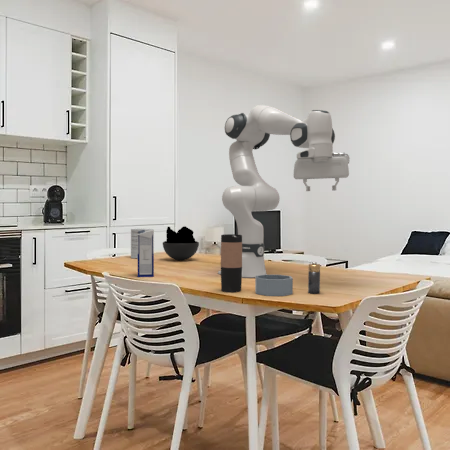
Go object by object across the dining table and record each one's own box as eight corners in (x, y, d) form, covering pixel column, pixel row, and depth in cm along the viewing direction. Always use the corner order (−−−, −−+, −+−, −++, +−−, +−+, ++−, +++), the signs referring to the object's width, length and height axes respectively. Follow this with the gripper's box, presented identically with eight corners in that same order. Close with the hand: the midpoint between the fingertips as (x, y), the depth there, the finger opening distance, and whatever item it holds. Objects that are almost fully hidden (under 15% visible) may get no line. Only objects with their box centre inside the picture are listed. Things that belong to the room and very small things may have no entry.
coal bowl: (203, 259, 280) (203, 225, 279) (192, 263, 260) (193, 227, 260) (169, 258, 284) (169, 225, 284) (157, 261, 265) (157, 226, 264)
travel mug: (224, 288, 182) (224, 234, 181) (244, 289, 179) (244, 234, 179) (217, 291, 174) (218, 235, 173) (238, 293, 172) (239, 235, 171)
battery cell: (305, 292, 173) (306, 262, 173) (312, 291, 176) (313, 261, 175) (315, 294, 170) (315, 263, 170) (322, 293, 173) (322, 262, 173)
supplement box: (142, 259, 277) (142, 229, 276) (130, 258, 282) (130, 228, 281) (153, 257, 285) (153, 228, 284) (141, 256, 290) (141, 228, 289)
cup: (248, 292, 173) (248, 276, 173) (271, 288, 182) (271, 273, 182) (276, 297, 164) (276, 280, 164) (299, 292, 173) (299, 277, 173)
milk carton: (153, 276, 210) (153, 229, 209) (137, 277, 208) (137, 229, 208) (153, 274, 217) (153, 229, 216) (137, 274, 215) (137, 229, 215)
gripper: (348, 153, 184) (349, 190, 185) (293, 155, 188) (294, 192, 188) (350, 151, 178) (350, 189, 178) (292, 153, 182) (293, 191, 182)
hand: (321, 190), depth 183 cm, fingers open, 8 cm apart
